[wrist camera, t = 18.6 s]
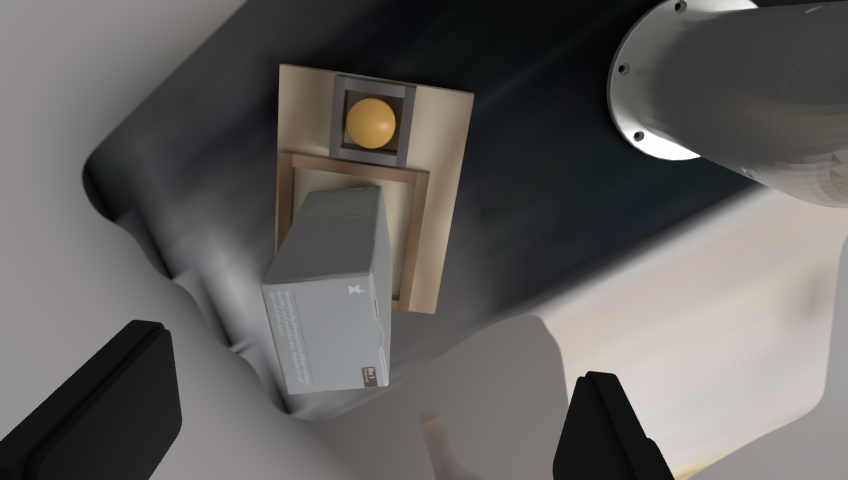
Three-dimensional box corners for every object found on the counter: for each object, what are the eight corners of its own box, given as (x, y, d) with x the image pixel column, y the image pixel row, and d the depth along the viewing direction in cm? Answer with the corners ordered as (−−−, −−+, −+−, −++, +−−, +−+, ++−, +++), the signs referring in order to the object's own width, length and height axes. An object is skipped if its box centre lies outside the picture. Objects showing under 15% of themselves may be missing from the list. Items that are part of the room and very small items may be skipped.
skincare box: (308, 189, 40) (241, 276, 26) (392, 182, 40) (373, 267, 26) (324, 278, 44) (273, 400, 29) (402, 273, 44) (390, 393, 29)
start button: (399, 100, 37) (397, 103, 35) (393, 146, 39) (391, 151, 37) (352, 92, 37) (348, 96, 35) (348, 139, 38) (344, 144, 37)
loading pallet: (472, 92, 39) (476, 97, 36) (434, 305, 47) (434, 326, 43) (285, 63, 38) (271, 66, 35) (277, 285, 46) (266, 304, 43)
